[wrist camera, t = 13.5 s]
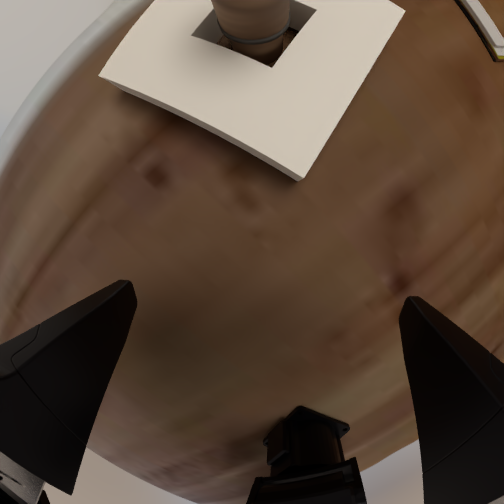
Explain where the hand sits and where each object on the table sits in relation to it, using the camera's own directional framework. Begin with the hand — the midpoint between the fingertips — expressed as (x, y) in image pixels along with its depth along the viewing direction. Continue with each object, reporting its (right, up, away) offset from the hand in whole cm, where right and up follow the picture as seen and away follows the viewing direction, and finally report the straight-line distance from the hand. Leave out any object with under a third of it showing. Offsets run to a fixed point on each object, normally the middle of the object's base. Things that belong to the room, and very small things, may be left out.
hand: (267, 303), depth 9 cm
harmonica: (+23, +28, +6) cm, 37 cm away
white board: (0, +17, +9) cm, 19 cm away
